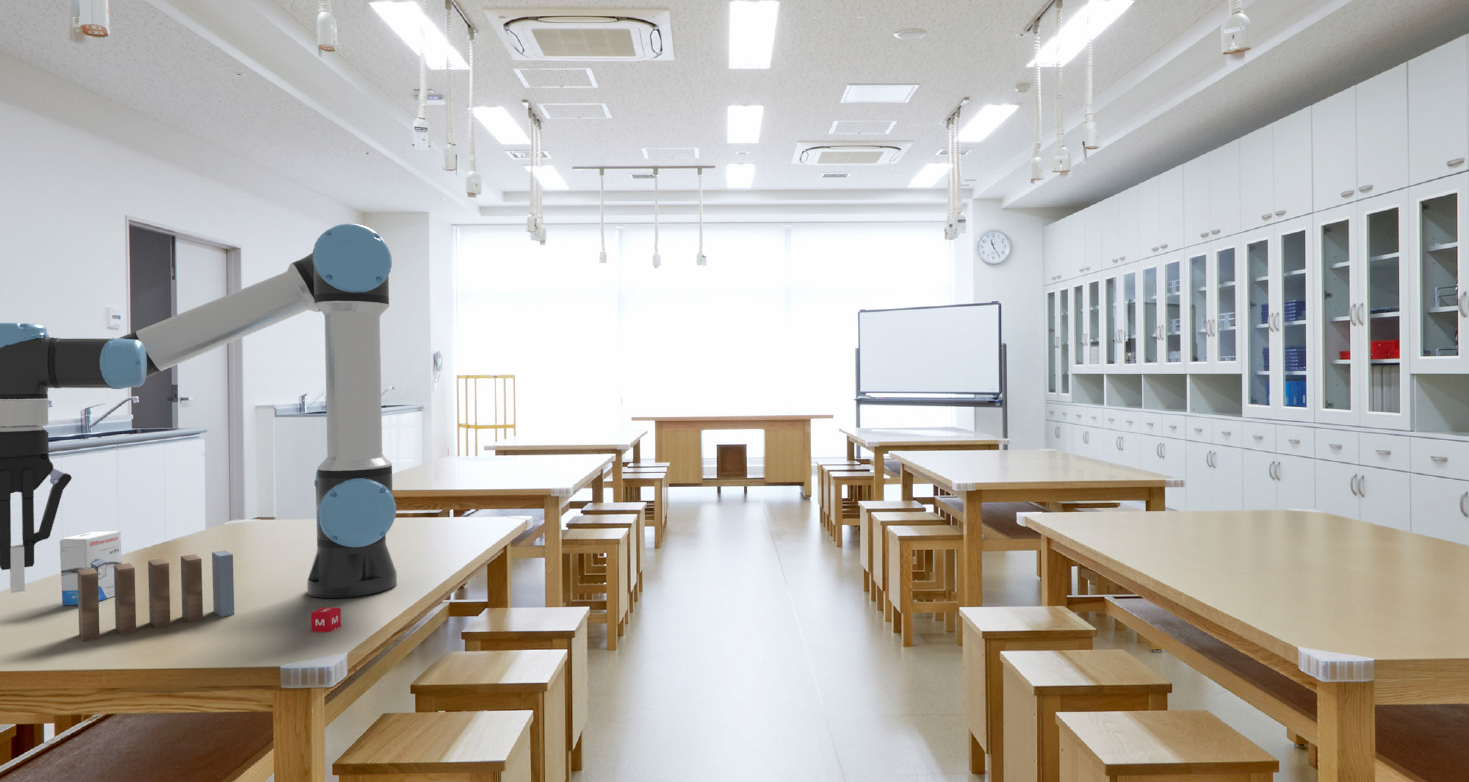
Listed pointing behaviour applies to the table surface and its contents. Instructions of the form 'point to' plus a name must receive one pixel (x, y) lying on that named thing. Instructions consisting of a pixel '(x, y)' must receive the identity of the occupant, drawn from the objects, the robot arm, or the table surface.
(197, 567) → the domino
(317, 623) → the red letter cube
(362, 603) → the table surface
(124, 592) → the domino
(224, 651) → the table surface
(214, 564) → the domino
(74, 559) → the ink box
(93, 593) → the end domino
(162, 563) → the domino
